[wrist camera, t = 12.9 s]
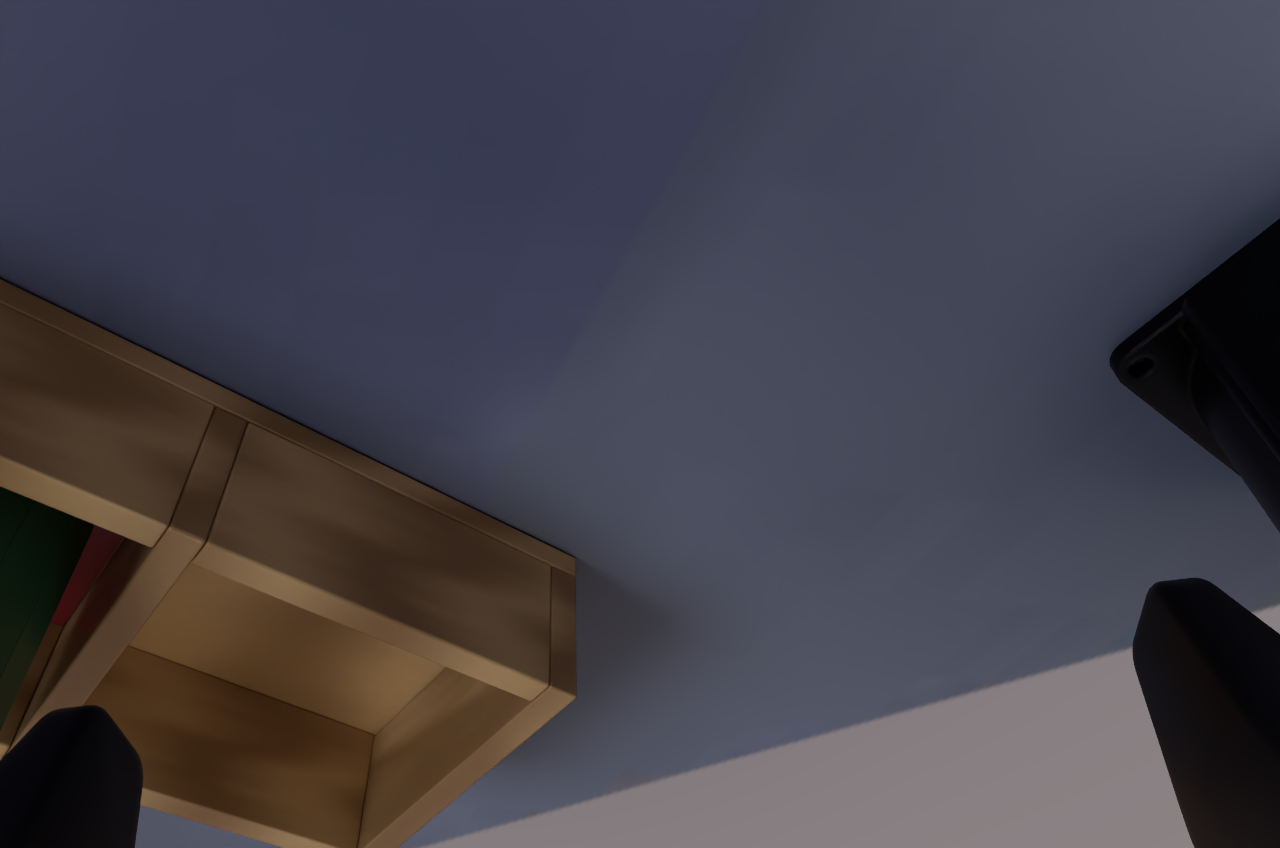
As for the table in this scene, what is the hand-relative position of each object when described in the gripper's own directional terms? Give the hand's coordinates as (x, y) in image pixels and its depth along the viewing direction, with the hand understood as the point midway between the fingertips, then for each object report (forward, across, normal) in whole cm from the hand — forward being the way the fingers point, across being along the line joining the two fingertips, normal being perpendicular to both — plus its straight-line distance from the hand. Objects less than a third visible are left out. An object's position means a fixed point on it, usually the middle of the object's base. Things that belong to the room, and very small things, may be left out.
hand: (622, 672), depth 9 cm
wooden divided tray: (+12, +11, +8) cm, 19 cm away
